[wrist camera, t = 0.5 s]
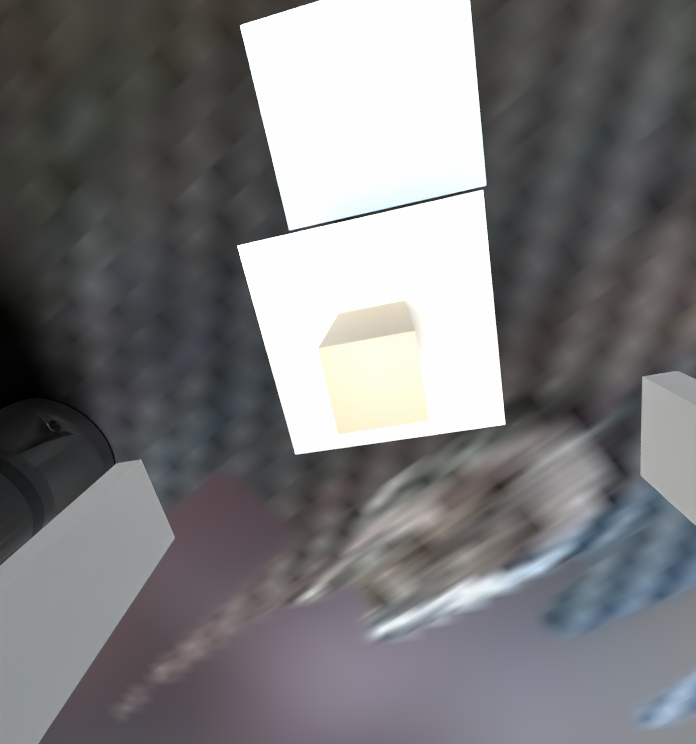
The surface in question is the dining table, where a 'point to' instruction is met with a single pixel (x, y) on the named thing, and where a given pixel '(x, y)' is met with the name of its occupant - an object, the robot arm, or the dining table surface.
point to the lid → (381, 325)
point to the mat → (367, 104)
